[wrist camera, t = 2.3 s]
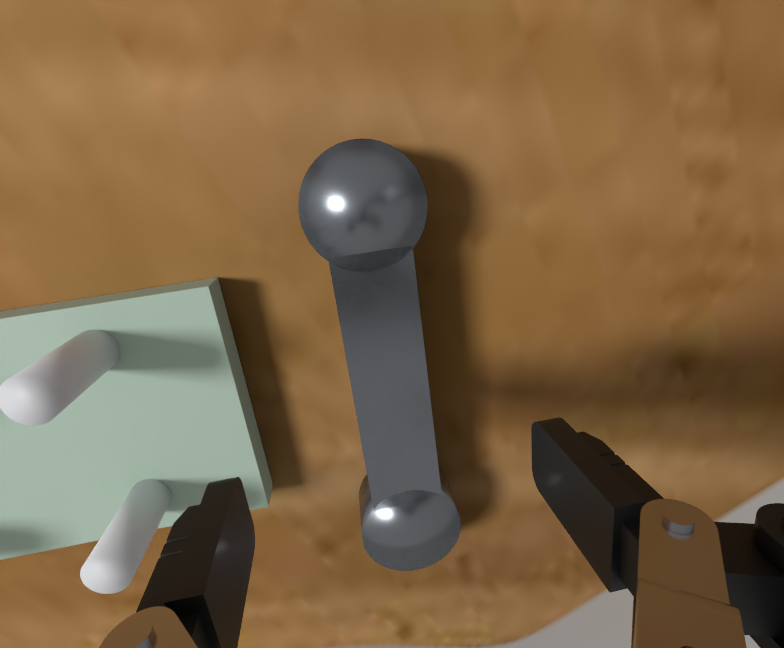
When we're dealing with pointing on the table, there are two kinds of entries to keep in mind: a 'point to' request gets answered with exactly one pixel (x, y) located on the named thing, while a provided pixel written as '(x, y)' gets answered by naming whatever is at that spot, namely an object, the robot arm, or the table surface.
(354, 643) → the table surface
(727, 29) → the table surface
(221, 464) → the tool rack
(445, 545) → the grey ball-ended rod
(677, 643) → the robot arm
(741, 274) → the table surface
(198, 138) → the table surface
